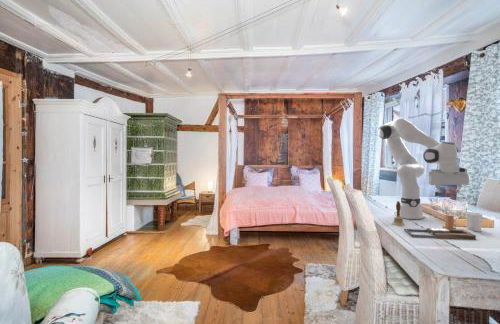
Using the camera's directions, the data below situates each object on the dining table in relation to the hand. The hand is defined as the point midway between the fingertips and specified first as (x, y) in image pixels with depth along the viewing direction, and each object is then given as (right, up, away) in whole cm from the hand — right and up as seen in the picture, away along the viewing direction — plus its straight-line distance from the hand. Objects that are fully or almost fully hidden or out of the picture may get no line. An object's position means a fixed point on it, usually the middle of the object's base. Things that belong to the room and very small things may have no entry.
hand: (448, 192), depth 168 cm
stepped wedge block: (+1, -23, +1) cm, 23 cm away
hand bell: (-22, -23, +15) cm, 35 cm away
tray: (-21, -24, -7) cm, 33 cm away
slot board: (-6, -24, -10) cm, 27 cm away
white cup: (+18, -23, +4) cm, 29 cm away
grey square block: (-13, -23, -9) cm, 28 cm away
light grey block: (-9, -23, -10) cm, 26 cm away
